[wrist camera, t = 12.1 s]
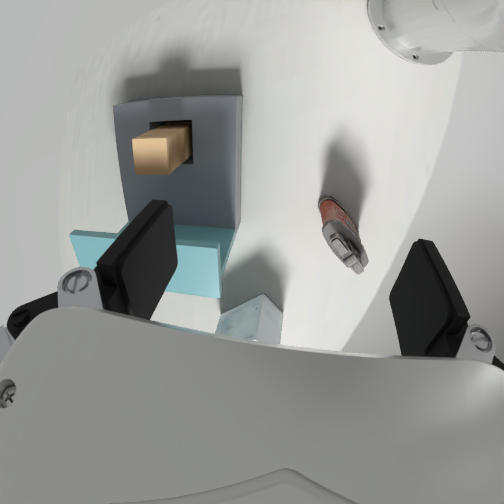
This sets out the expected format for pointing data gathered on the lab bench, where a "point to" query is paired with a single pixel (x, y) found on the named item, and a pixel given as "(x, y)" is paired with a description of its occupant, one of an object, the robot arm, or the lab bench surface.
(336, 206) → the lighter
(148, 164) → the peg
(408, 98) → the lab bench surface
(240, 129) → the socket block
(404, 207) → the lab bench surface
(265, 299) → the skincare box
